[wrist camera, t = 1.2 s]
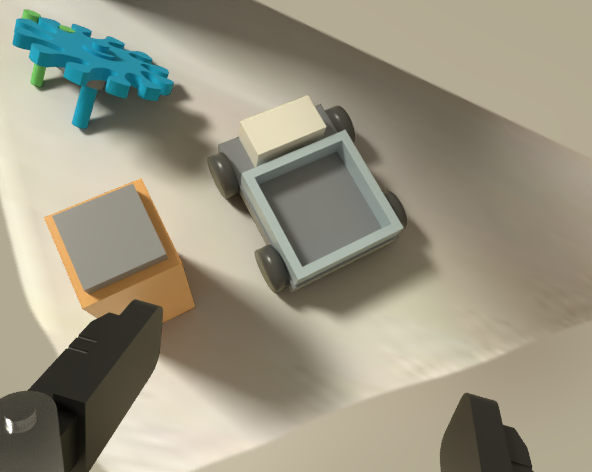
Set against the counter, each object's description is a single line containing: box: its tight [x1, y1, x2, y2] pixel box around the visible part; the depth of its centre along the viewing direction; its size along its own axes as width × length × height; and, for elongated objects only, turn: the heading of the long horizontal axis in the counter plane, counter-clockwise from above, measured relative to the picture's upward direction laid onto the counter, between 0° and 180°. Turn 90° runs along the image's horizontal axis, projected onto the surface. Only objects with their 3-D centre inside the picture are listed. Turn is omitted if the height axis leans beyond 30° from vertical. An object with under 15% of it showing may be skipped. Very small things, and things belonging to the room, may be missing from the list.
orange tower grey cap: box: [44, 179, 195, 323], centre depth 28 cm, size 4×4×12 cm
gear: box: [13, 10, 174, 128], centre depth 35 cm, size 11×6×10 cm
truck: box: [207, 95, 407, 293], centre depth 34 cm, size 11×10×4 cm
